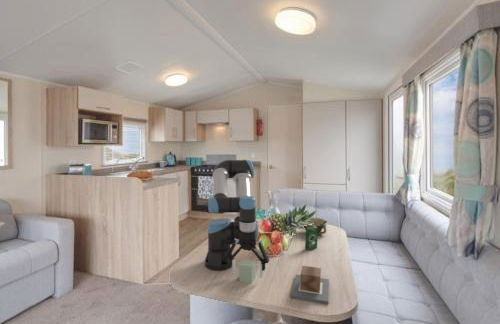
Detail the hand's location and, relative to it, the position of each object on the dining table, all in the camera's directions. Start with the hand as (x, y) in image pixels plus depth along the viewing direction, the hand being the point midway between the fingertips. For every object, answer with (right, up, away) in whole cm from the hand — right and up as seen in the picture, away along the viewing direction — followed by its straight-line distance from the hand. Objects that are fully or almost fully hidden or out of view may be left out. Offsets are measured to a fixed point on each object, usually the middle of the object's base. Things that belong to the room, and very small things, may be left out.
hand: (247, 274), depth 124 cm
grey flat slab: (+28, -3, -8) cm, 29 cm away
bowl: (+46, +2, +64) cm, 79 cm away
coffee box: (+38, 0, +37) cm, 53 cm away
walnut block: (+28, -2, -8) cm, 29 cm away
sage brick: (0, -2, +1) cm, 2 cm away
